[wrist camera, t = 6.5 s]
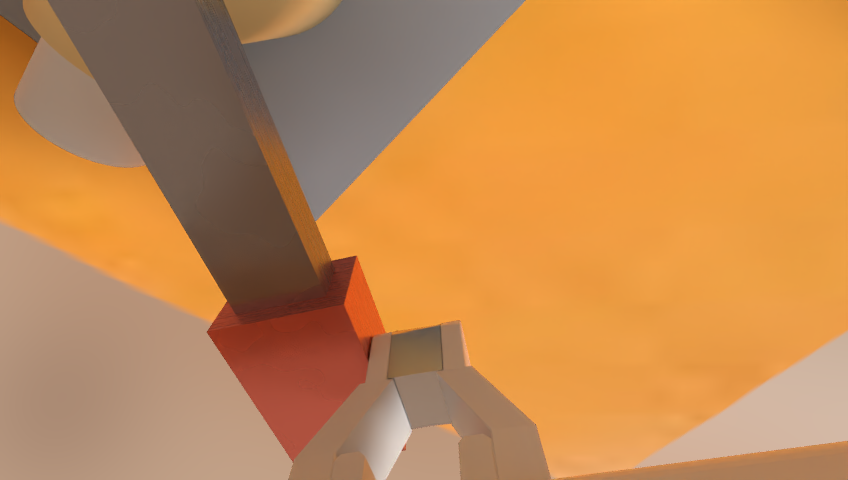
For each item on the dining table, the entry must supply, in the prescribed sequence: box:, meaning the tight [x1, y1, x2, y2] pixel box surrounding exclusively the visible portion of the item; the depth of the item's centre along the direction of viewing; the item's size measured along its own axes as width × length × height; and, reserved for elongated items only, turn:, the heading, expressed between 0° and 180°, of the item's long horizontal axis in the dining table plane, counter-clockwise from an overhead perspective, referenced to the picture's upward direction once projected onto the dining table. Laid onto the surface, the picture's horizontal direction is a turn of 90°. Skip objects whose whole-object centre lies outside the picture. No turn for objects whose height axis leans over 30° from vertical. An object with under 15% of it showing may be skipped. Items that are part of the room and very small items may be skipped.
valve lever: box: [47, 0, 406, 462], centre depth 8 cm, size 15×3×2 cm, turn 13°
